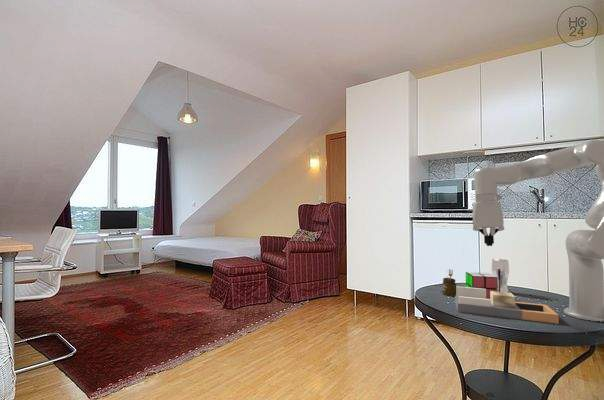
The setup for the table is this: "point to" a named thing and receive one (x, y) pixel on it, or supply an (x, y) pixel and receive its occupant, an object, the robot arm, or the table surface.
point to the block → (502, 299)
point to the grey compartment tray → (478, 304)
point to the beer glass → (501, 273)
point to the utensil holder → (449, 285)
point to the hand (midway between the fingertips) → (489, 245)
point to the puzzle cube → (482, 282)
